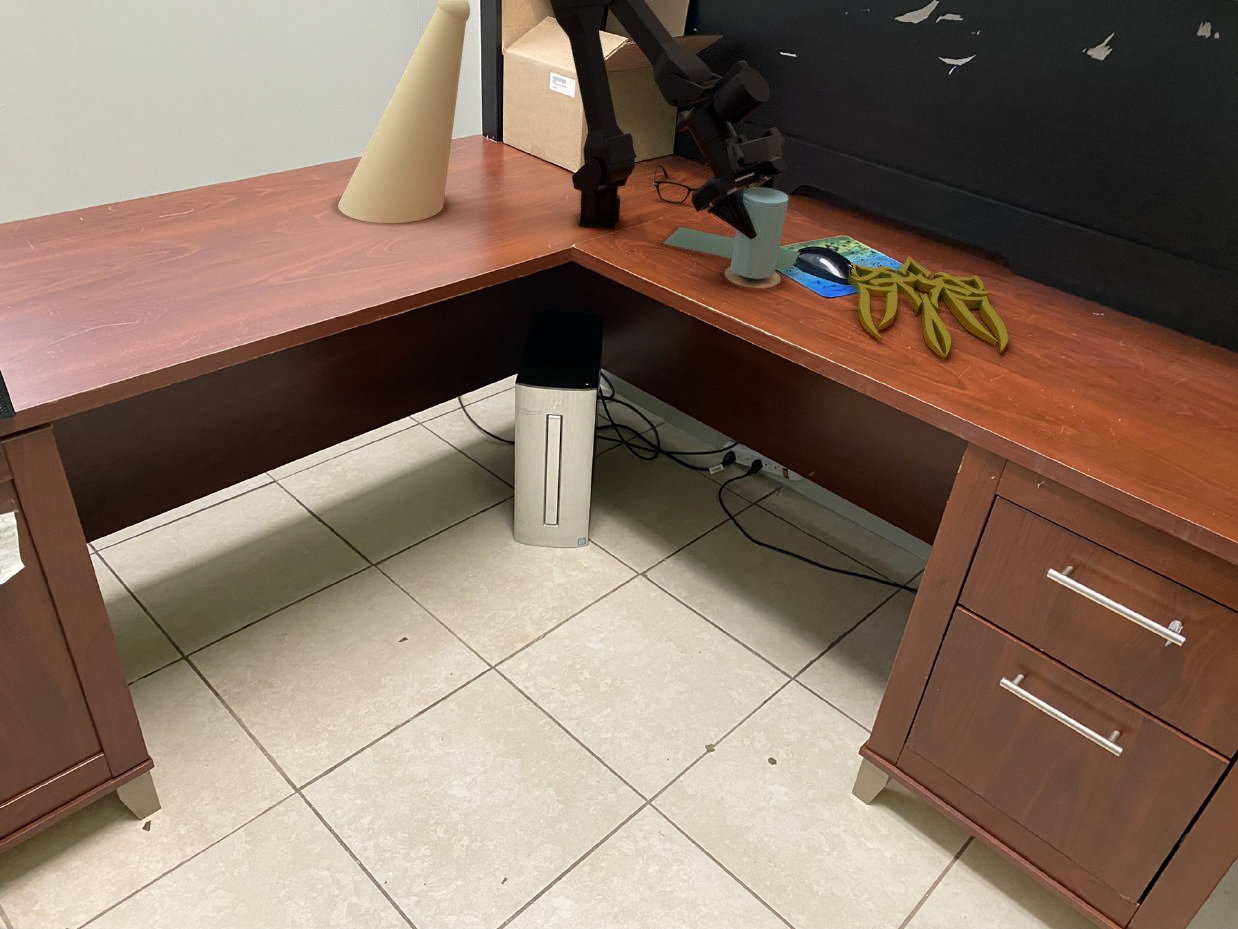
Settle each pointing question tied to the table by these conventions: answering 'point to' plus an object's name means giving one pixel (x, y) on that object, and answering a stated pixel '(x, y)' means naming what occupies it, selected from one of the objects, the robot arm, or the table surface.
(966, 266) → the table surface
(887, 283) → the gold ornamental emblem
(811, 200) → the table surface
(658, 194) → the eyeglasses
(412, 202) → the cone light
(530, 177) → the table surface
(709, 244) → the mat
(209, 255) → the table surface
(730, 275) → the knob on round base
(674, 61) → the robot arm
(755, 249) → the tumbler
